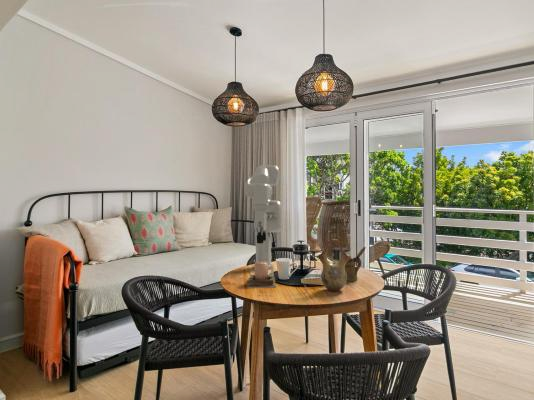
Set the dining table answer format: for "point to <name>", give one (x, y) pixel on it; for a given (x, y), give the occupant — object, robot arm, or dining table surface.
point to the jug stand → (261, 282)
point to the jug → (263, 271)
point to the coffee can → (339, 253)
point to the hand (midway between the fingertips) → (261, 241)
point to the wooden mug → (353, 267)
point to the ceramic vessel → (333, 269)
